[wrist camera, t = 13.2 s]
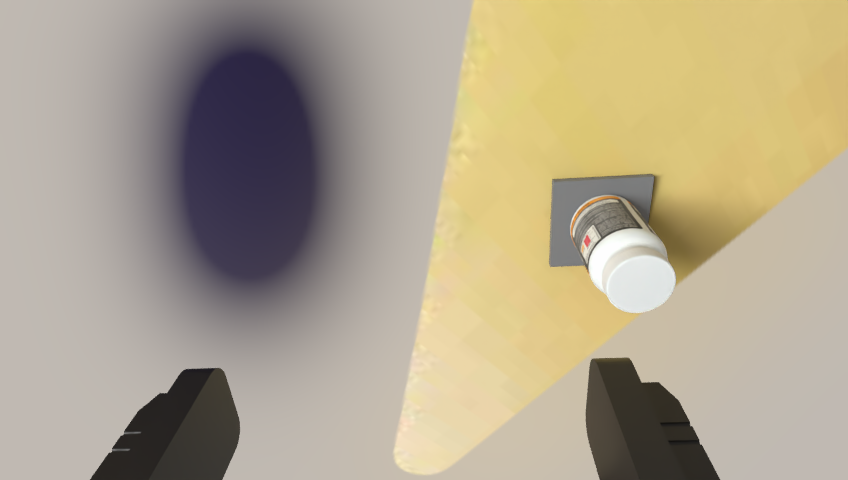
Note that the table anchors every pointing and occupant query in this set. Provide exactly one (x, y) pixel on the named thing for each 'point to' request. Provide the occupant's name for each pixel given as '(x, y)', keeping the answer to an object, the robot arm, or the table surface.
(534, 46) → the table surface
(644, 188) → the coaster
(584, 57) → the table surface
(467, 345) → the table surface
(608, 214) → the pill bottle
